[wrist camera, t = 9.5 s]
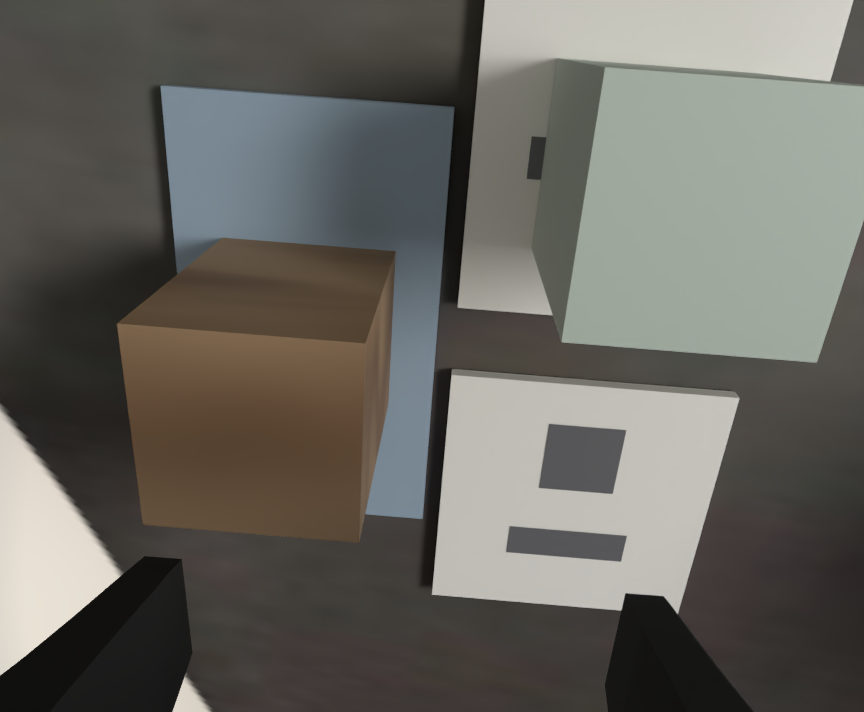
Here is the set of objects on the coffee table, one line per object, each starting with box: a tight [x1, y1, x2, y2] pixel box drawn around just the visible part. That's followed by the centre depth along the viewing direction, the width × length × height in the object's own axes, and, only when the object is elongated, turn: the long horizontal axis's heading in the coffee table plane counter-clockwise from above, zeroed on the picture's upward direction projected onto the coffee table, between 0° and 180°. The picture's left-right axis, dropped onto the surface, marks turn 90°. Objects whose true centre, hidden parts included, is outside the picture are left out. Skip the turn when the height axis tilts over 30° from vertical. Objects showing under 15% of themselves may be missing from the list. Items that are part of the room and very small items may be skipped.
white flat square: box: [458, 0, 853, 315], centre depth 17 cm, size 8×8×1 cm
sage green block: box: [532, 58, 864, 363], centre depth 14 cm, size 4×4×6 cm
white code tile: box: [432, 369, 739, 614], centre depth 21 cm, size 8×8×1 cm
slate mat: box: [161, 85, 454, 519], centre depth 19 cm, size 12×7×1 cm, turn 176°
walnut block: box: [117, 238, 396, 543], centre depth 16 cm, size 4×4×6 cm
